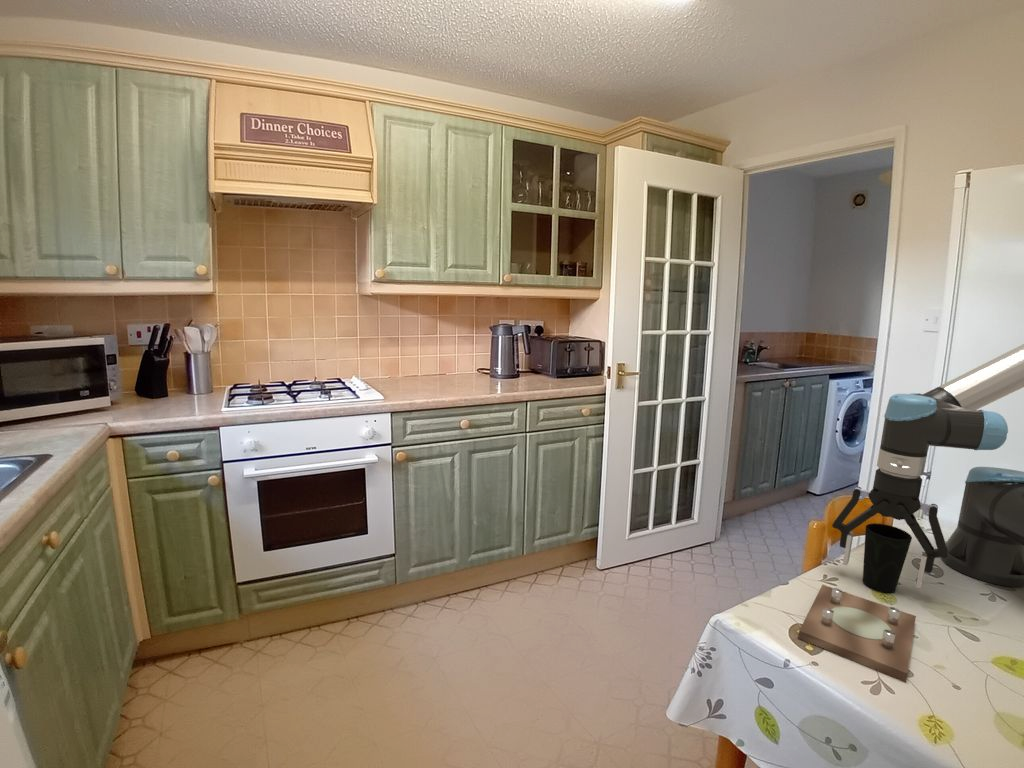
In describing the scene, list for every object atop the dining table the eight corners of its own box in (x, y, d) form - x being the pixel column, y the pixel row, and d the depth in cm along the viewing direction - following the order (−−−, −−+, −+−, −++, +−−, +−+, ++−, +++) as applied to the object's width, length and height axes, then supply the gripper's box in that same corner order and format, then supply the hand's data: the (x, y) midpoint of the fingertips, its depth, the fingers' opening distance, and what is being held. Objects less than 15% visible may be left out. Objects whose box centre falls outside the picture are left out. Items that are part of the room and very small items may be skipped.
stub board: (914, 623, 96) (918, 603, 96) (905, 682, 81) (910, 658, 81) (821, 591, 106) (824, 572, 105) (798, 638, 91) (801, 617, 90)
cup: (909, 599, 104) (920, 542, 102) (866, 593, 106) (876, 537, 104) (890, 578, 112) (899, 525, 110) (850, 573, 113) (859, 521, 111)
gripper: (826, 462, 109) (811, 559, 113) (979, 494, 94) (956, 605, 98) (833, 454, 115) (818, 547, 119) (978, 483, 100) (956, 588, 104)
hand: (880, 573), depth 108 cm, fingers open, 12 cm apart
